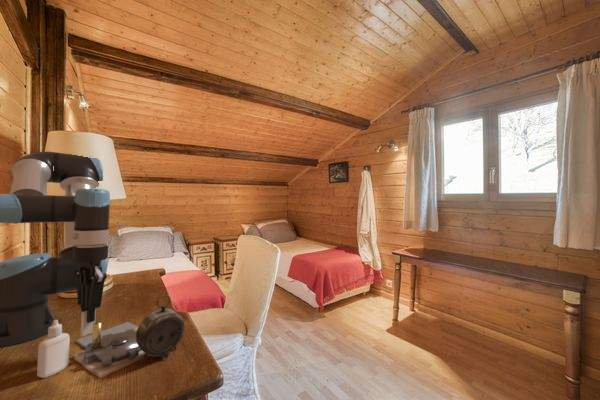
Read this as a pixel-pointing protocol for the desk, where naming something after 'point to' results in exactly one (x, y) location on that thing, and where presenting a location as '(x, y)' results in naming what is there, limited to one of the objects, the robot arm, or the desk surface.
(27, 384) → the desk surface
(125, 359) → the plate
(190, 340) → the desk surface
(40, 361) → the eye dropper bottle
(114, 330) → the pad
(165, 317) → the alarm clock
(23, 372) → the desk surface
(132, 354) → the sprocket
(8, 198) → the robot arm
